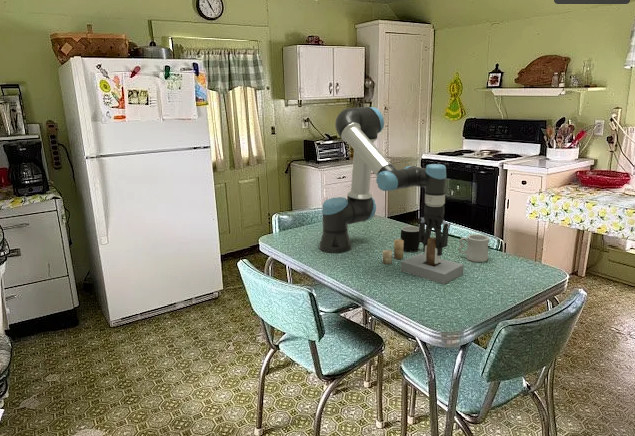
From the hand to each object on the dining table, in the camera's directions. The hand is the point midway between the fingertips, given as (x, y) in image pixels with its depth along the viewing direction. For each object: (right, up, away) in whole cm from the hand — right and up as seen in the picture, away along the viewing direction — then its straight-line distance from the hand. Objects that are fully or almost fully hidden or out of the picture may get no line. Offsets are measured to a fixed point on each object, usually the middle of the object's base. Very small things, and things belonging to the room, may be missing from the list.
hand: (432, 261), depth 183 cm
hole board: (0, -5, +1) cm, 5 cm away
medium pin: (-10, 0, +19) cm, 21 cm away
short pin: (-16, -2, +13) cm, 21 cm away
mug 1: (-4, +3, +30) cm, 30 cm away
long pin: (0, -3, +1) cm, 3 cm away
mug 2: (+22, -1, +16) cm, 27 cm away
